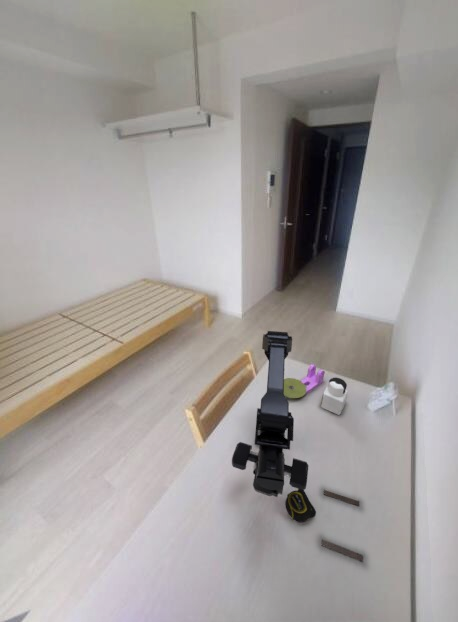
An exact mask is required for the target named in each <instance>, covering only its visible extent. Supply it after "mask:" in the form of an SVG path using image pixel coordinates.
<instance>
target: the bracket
mask: <svg viewBox="0 0 458 622" xmlns="http://www.w3.org/2000/svg"><path fill="white" fill-rule="evenodd" d="M325 373H326V372H325V370H324V369H321V368H320V369H318V370H317V366H316V365H315V364H314V363H311V364H310V365H309V366H308V368H307V374H306V376H305V377H304V378H302V379H301V380H300V381H301V382H302V383H303V384H304V385H305V387H306V393H305V395H308V394H309V393H311V392H312V391H313V390H315V388H317V387H318V386H320V385H321V384H322V383H324V379H325V378H324V377H325Z"/></svg>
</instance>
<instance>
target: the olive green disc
mask: <svg viewBox="0 0 458 622" xmlns="http://www.w3.org/2000/svg"><path fill="white" fill-rule="evenodd" d="M306 387H307V386H306V385H304V384H303V383H302V382H301V380H299V379H296V378H293V377H286V378H284V395H285V397H286V398H289V399H299V398H302V397H304V396H305V395H306V394H305V393H306Z"/></svg>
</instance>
